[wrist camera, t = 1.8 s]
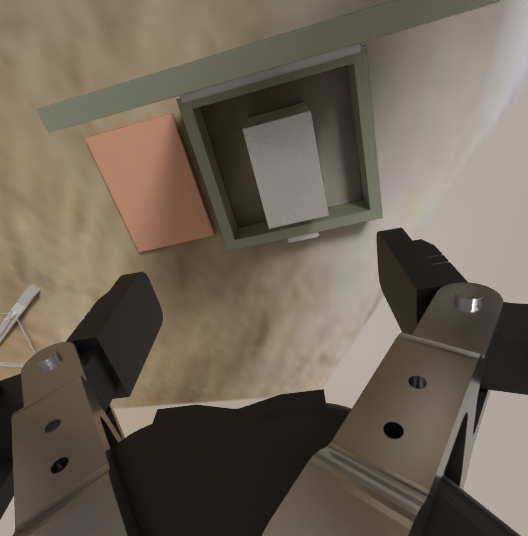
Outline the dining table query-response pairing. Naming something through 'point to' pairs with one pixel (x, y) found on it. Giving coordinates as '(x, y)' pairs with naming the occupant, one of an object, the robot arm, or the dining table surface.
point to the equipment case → (264, 76)
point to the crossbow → (13, 316)
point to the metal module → (286, 165)
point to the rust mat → (152, 183)
